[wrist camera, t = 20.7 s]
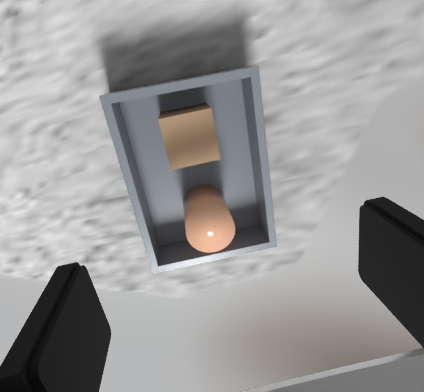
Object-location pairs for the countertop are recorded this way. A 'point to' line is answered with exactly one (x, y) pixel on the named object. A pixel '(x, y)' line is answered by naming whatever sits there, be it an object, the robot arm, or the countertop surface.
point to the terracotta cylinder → (207, 219)
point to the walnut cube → (189, 135)
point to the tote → (197, 174)
